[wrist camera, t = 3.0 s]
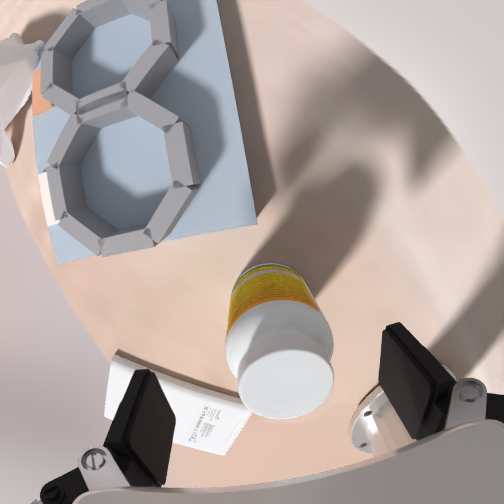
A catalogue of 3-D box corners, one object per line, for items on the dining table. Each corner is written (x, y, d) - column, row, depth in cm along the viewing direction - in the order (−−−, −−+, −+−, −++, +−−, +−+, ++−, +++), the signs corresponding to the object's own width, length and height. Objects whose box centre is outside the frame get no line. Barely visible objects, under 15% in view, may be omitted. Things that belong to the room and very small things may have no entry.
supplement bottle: (320, 304, 20) (369, 391, 11) (259, 343, 21) (268, 443, 12) (280, 244, 19) (313, 307, 10) (214, 288, 20) (194, 377, 11)
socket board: (255, 219, 19) (259, 232, 14) (71, 256, 19) (37, 275, 15) (214, -5, 14) (209, -40, 10) (47, 54, 15) (16, 39, 10)
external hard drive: (117, 349, 22) (254, 397, 23) (108, 407, 24) (224, 446, 25) (110, 360, 20) (255, 409, 22) (103, 418, 22) (223, 458, 24)
